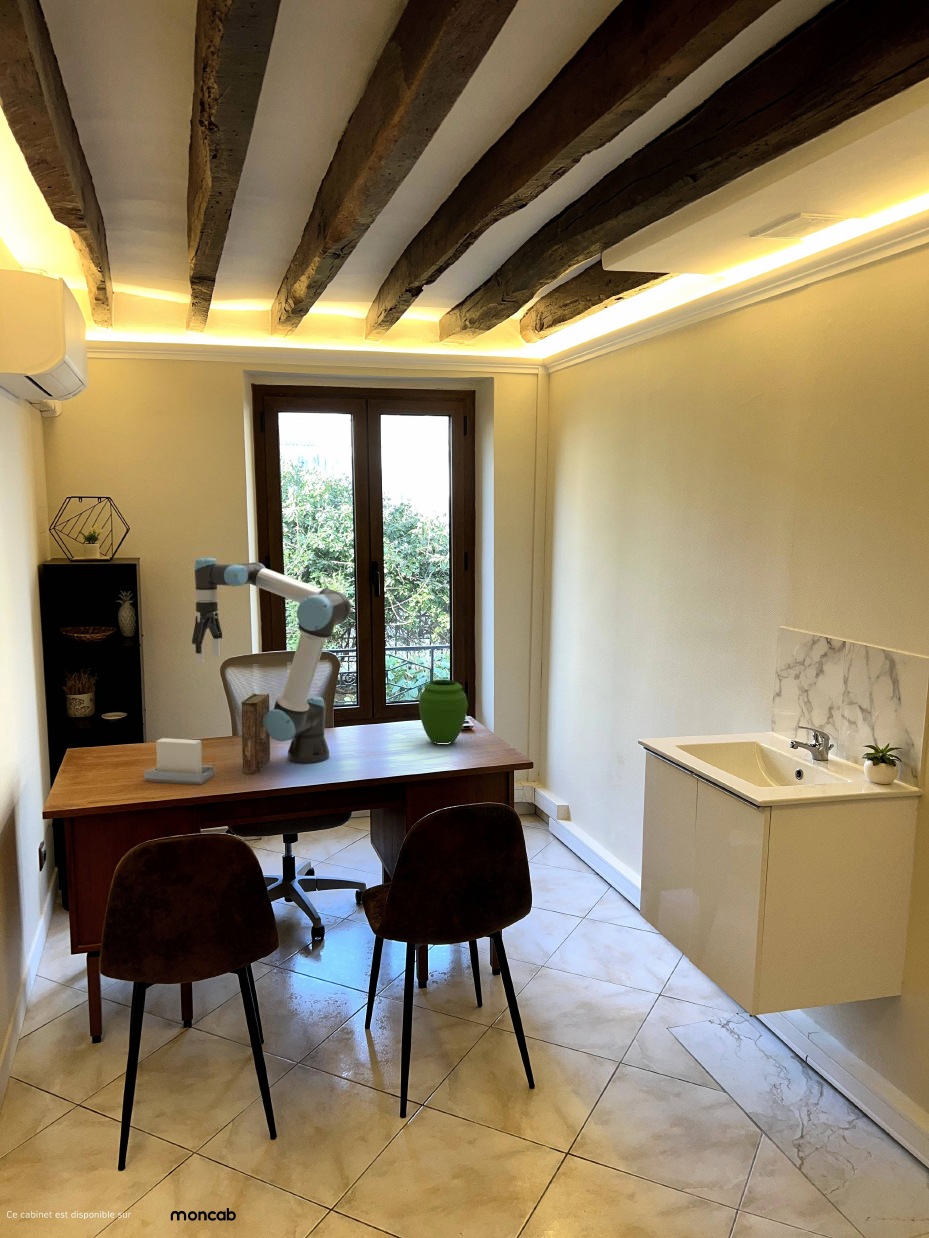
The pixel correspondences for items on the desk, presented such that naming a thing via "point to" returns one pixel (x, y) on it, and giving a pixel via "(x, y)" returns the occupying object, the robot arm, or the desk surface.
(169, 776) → the track
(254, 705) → the book
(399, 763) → the desk surface
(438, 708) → the vase
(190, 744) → the door
